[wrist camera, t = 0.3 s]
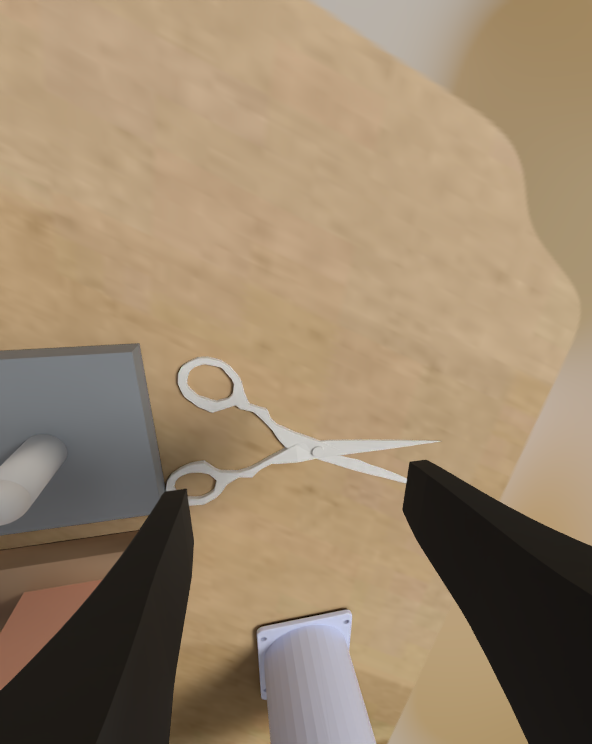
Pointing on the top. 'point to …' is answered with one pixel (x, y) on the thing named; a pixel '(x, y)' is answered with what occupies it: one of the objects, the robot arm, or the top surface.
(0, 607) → the stand
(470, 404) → the top surface
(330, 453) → the scissors
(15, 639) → the collar
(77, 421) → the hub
